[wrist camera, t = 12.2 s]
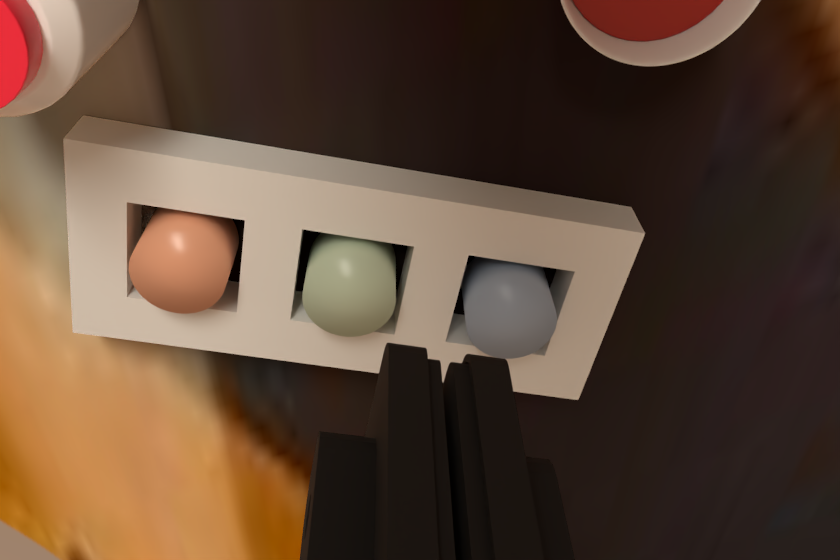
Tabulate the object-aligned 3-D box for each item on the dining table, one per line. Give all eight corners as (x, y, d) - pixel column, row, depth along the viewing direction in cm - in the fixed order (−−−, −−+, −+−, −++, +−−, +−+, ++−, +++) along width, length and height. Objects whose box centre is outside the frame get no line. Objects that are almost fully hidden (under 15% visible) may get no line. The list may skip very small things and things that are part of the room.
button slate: (471, 240, 46) (477, 279, 42) (555, 254, 46) (568, 292, 43) (453, 310, 48) (457, 352, 45) (532, 322, 49) (542, 364, 46)
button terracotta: (149, 189, 43) (128, 226, 40) (242, 204, 44) (229, 241, 41) (148, 266, 46) (128, 306, 43) (235, 279, 47) (223, 319, 43)
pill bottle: (111, -129, 35) (13, -87, 26) (160, 45, 40) (90, 132, 31) (-59, -109, 36) (-216, -61, 27) (7, 61, 40) (-108, 153, 31)
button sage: (314, 215, 45) (308, 253, 41) (403, 229, 45) (403, 267, 42) (304, 289, 47) (297, 329, 44) (387, 301, 48) (387, 342, 45)
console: (83, 115, 42) (63, 138, 39) (631, 207, 45) (645, 233, 43) (89, 302, 48) (72, 332, 45) (569, 368, 52) (578, 400, 49)
